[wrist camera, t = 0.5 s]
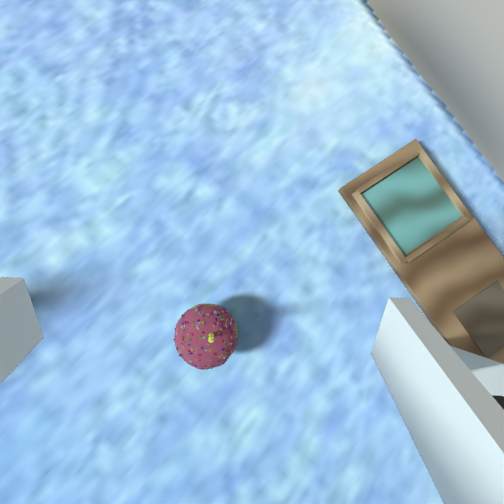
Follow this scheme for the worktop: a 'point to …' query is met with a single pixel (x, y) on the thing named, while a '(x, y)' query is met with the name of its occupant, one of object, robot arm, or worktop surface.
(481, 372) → the supplement box
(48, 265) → the worktop surface
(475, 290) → the board
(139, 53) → the worktop surface
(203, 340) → the cupcake
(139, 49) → the worktop surface
